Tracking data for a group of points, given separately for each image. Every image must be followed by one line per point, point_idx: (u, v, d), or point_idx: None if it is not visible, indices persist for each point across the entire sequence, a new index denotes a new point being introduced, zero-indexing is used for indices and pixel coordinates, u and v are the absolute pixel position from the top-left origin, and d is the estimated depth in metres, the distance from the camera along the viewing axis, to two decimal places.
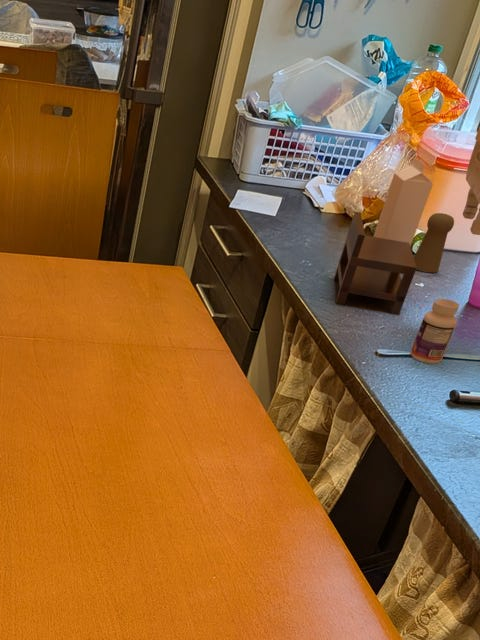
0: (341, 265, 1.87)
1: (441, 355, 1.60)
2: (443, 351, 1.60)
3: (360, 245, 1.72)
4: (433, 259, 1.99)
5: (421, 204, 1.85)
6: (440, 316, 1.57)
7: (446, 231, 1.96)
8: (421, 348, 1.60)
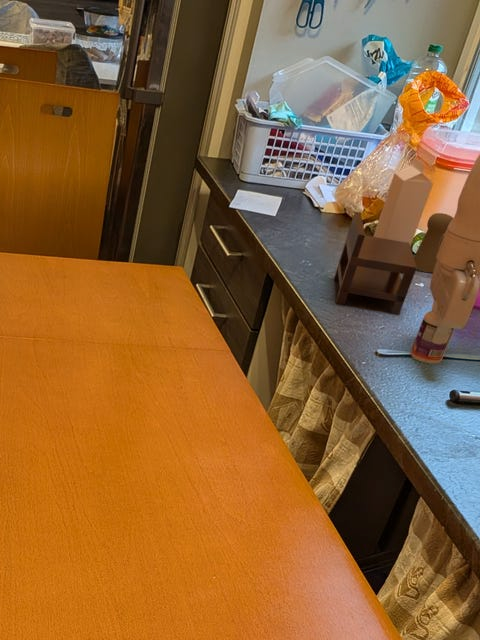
0: (341, 265, 1.87)
1: (441, 355, 1.60)
2: (443, 351, 1.60)
3: (360, 245, 1.72)
4: (433, 259, 1.99)
5: (421, 204, 1.85)
6: None
7: None
8: (421, 348, 1.60)
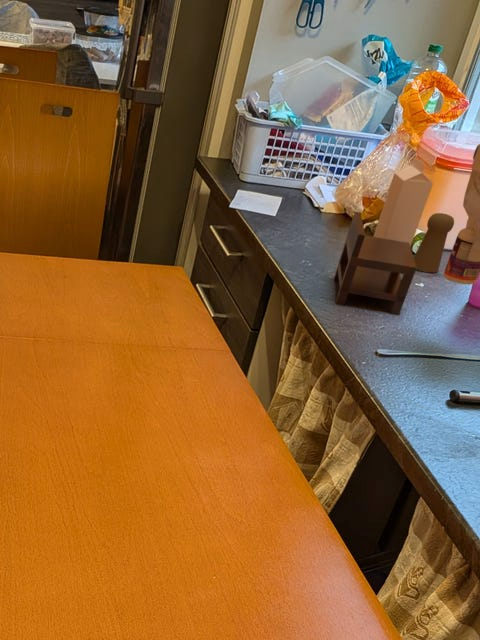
0: (341, 265, 1.87)
1: (476, 275, 1.51)
2: (479, 270, 1.51)
3: (360, 245, 1.72)
4: (433, 259, 1.99)
5: (421, 204, 1.85)
6: (475, 232, 1.48)
7: (446, 231, 1.96)
8: (455, 268, 1.51)
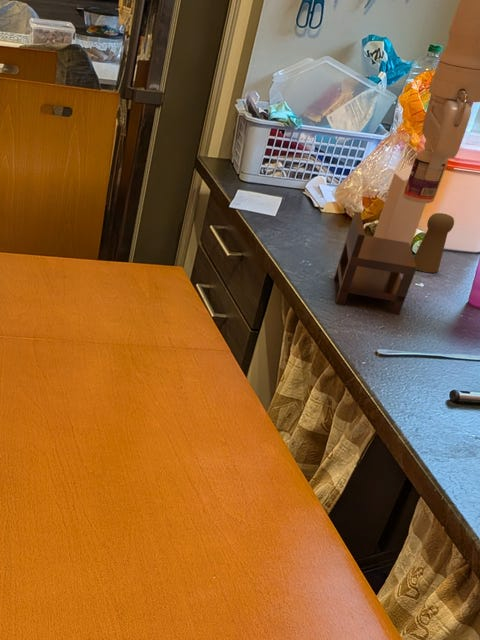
0: (341, 265, 1.87)
1: (433, 194, 1.64)
2: (435, 190, 1.64)
3: (360, 245, 1.72)
4: (433, 259, 1.99)
5: (421, 204, 1.85)
6: (431, 152, 1.60)
7: (446, 231, 1.96)
8: (413, 187, 1.64)
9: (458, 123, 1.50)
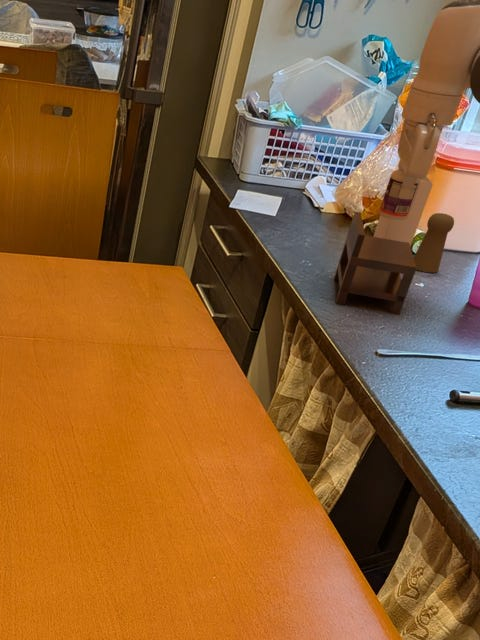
0: (341, 265, 1.87)
1: (406, 211, 1.73)
2: (409, 207, 1.72)
3: (360, 245, 1.72)
4: (433, 259, 1.99)
5: (421, 204, 1.85)
6: None
7: (446, 231, 1.96)
8: (388, 205, 1.72)
9: (428, 146, 1.59)
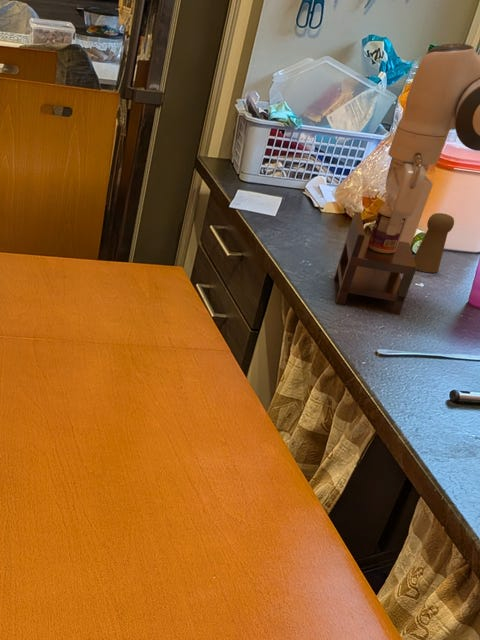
0: (341, 265, 1.87)
1: (394, 245, 1.76)
2: (397, 241, 1.76)
3: (360, 245, 1.72)
4: (433, 259, 1.99)
5: (421, 204, 1.85)
6: None
7: (446, 231, 1.96)
8: (376, 239, 1.76)
9: (413, 185, 1.63)
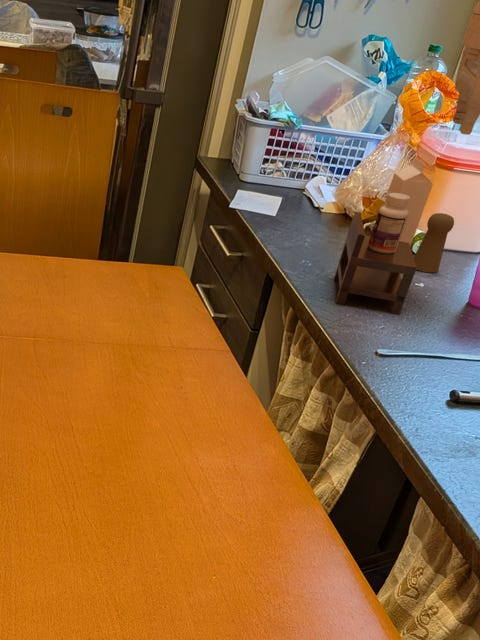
0: (341, 265, 1.87)
1: (394, 245, 1.76)
2: (397, 241, 1.76)
3: (360, 245, 1.72)
4: (433, 259, 1.99)
5: (421, 204, 1.85)
6: (392, 207, 1.73)
7: (446, 231, 1.96)
8: (376, 239, 1.76)
9: None
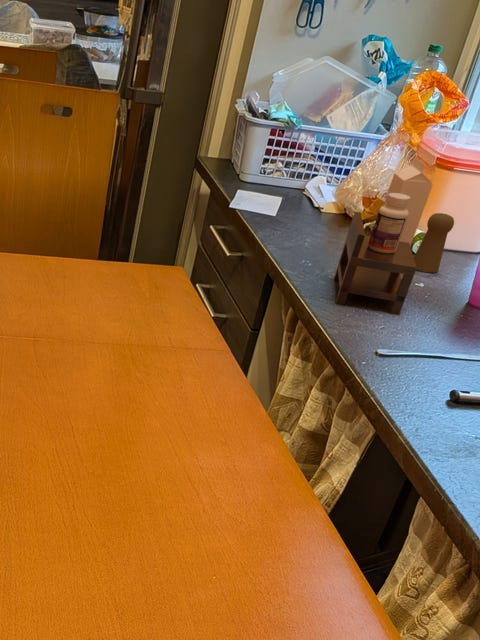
0: (341, 265, 1.87)
1: (394, 245, 1.76)
2: (397, 241, 1.76)
3: (360, 245, 1.72)
4: (433, 259, 1.99)
5: (421, 204, 1.85)
6: (392, 207, 1.73)
7: (446, 231, 1.96)
8: (376, 239, 1.76)
9: None
